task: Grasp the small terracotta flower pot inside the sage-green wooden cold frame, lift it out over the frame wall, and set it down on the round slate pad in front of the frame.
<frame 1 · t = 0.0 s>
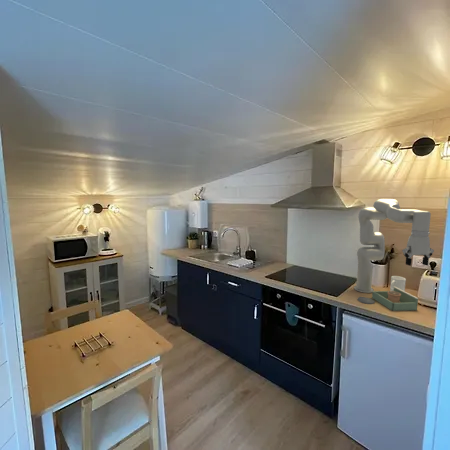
hand: (416, 264, 143), 31 cm above the table, tool pointing down, fingers open, 9 cm apart
cold frame: (393, 303, 168), on the table
pot: (393, 298, 168), in the cold frame
slate pad: (366, 300, 172), on the table
mug: (395, 292, 187), on the table
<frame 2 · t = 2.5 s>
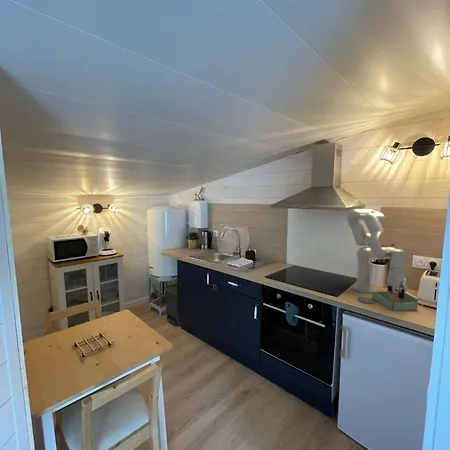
hand: (395, 295, 167), 6 cm above the table, tool pointing down, fingers open, 9 cm apart
nothing on the table moved.
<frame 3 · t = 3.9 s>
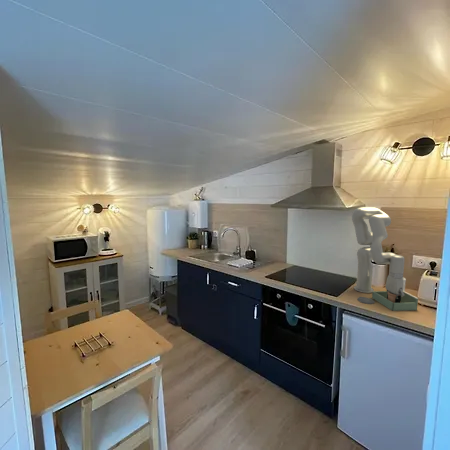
hand: (393, 301, 168), 1 cm above the table, tool pointing down, fingers closed on pot, 6 cm apart
pot: (393, 298, 168), in the cold frame, touching gripper
everything else where it was.
when the fingers open (4 cm above the table, at t = 10.4 s): pot drops 2 cm, point 4 cm above the table.
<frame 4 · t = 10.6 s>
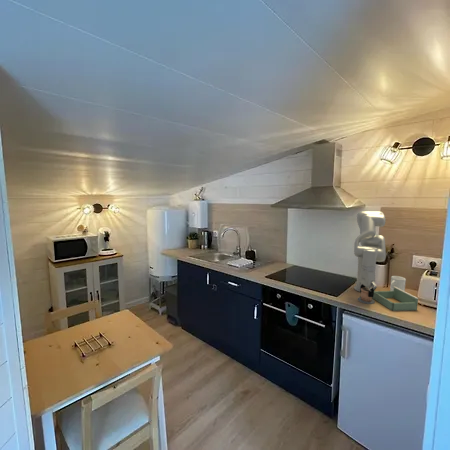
hand: (366, 294, 172), 4 cm above the table, tool pointing down, fingers open, 8 cm apart
pot: (366, 294, 171), point 4 cm above the table, touching gripper
everything else where it was.
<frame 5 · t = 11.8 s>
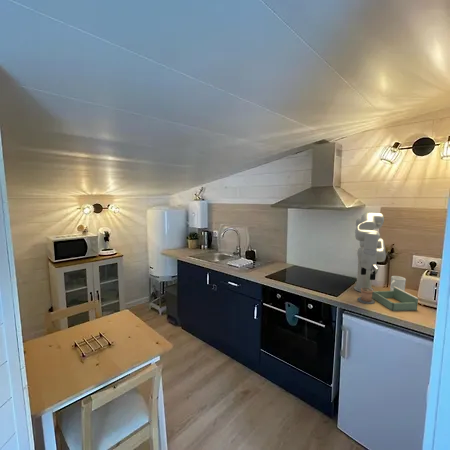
hand: (367, 277, 171), 16 cm above the table, tool pointing down, fingers open, 9 cm apart
pot: (366, 294, 171), on the slate pad, point 4 cm above the table
everything else where it was.
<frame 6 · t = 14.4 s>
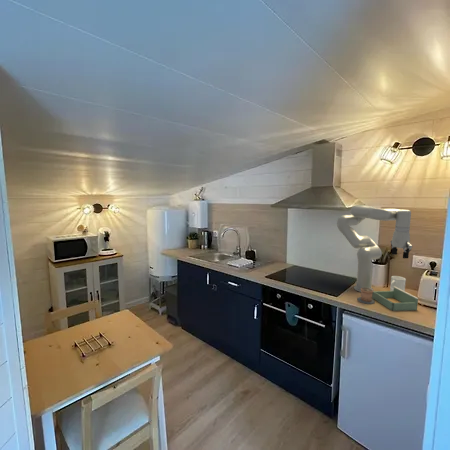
hand: (399, 256, 167), 30 cm above the table, tool pointing down, fingers open, 9 cm apart
nothing on the table moved.
at the end: pot 0.1 cm off-centre on the slate pad, point 4.1 cm above the slate pad's base; pot tilted 0°; the gripper is holding nothing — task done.
